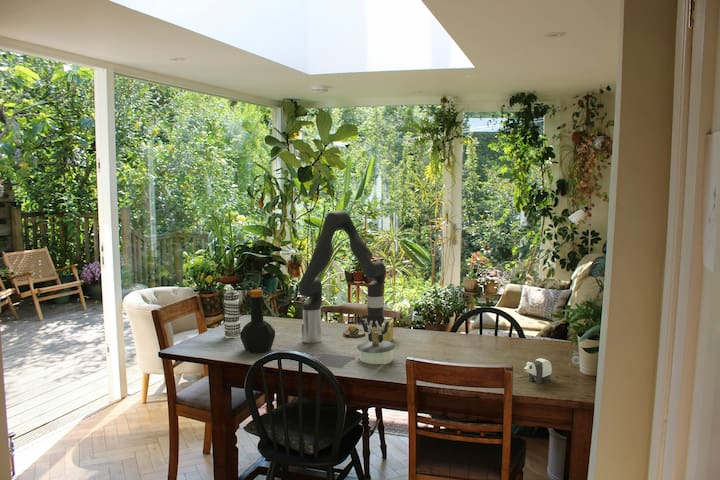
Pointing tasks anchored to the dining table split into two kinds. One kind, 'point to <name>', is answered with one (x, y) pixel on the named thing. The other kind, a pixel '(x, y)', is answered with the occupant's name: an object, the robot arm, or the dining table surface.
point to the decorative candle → (231, 314)
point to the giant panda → (538, 370)
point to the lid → (375, 345)
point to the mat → (335, 360)
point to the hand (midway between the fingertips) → (375, 341)
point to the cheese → (389, 334)
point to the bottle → (257, 327)
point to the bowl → (376, 357)
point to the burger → (353, 332)
